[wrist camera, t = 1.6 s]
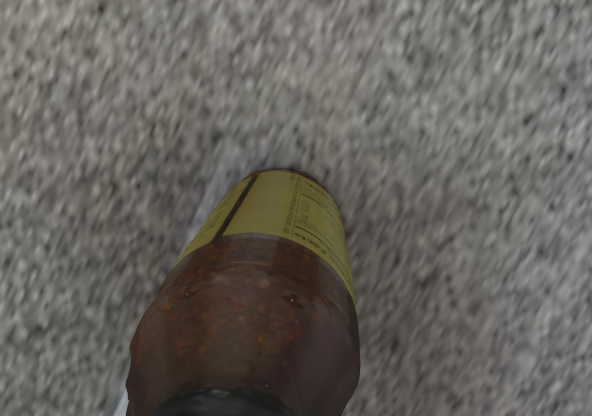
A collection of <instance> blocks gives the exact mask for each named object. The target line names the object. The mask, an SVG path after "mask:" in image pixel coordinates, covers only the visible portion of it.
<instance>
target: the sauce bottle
mask: <svg viewBox="0 0 592 416" xmlns="http://www.w3.org/2000/svg"><path fill="white" fill-rule="evenodd" d="M130 353H131V365H130V371H129V375H128V378H127V380H126V389H127V392H128V400H129V403H128V407H127V411H126V416H341V415H342V412H343V410H344V408H345V406H346V405H347V403H348V401H349V400H350V398H351V397H352V395H353V393H354V391H355V389H356V387H357V385H358V381H359V376H360V342H359V328H358V319H357V310H356V302H355V294H354V286H353V280H352V274H351V268H350V262H349V257H348V251H347V247H346V242H345V235H344V229H343V223H342V219H341V215H340V213H339V210H338V208H337V206H336V204H335V202H334V201H333V199H332V197H331V196H330V195H329V194H328V193H327V192H326V191H325V190H324V189H323V188H322V187H321V186H320V185H318V184H317V183H316V182H315V181H314V180H313V179H312V178H311V177H310V176H308V175H306V174H305V173H302V172H296V171H291V170H280V169H278V170H263V171H258V172H255V173H253V174H251V175H250V176H248V177H247V178H245V179H244V180H242V181H241V182H239V183H238V184H236V185H235V186H234V187H233V188H232V189H231V190H230V191H228V192H227V194H226V195H225V196H224V197H223V198H222V200H221V201H220V202H219V204H218V205H217V207H216V208H215V209H214V211H213V212H212V214H211V215H210V216H209V218H208V219H207V221H206V222H205V224H204V225H203V226H202V228H201V229H200V231H199V232H198V233H197V235H196V236H195V238H194V239H193V240H192V242H191V243H190V244H189V246H188V247H187V248H186V250H185V251H184V253H183V254H182V255H181V257H180V258H179V260H178V261H177V263H176V264H175V265H174V267H173V268H172V270H171V271H170V272H169V274H168V275H167V277H166V278H165V280H164V282H163V283H162V286H161V288H160V290H159V293H158V295H157V297H156V299H155V300H154V301H153V302H152V304H151V305H150V306H149V308H148V309H147V311H146V312H145V314H144V315H143V317H142V319H141V321H140V323H139V325H138V327H137V330H136V332H135V334H134V336H133V339H132V341H131V345H130Z"/></svg>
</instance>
